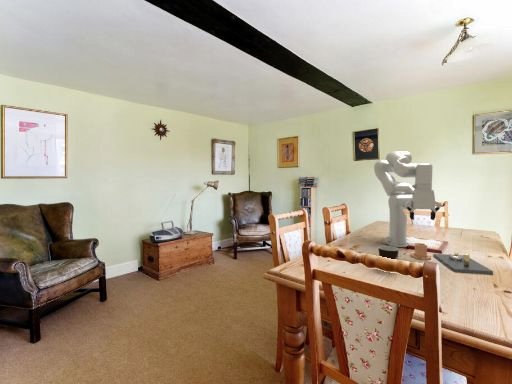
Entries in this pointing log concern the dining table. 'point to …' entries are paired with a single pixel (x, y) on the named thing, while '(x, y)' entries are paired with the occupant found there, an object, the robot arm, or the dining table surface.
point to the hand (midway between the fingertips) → (422, 219)
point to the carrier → (462, 263)
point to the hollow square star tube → (420, 252)
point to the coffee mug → (388, 252)
